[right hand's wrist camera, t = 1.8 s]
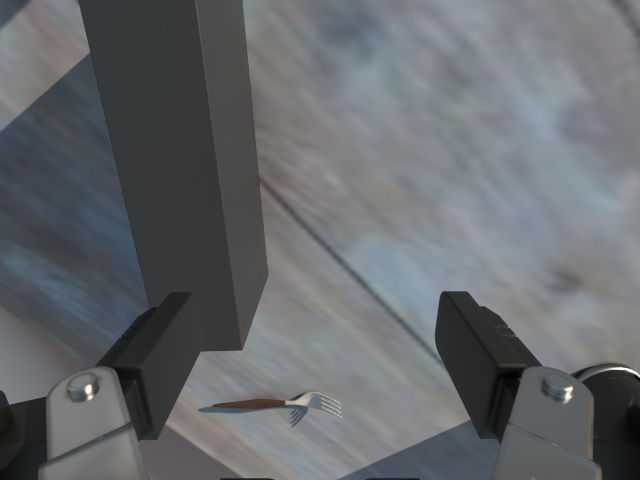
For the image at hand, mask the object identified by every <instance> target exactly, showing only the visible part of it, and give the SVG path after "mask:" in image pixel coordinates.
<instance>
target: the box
mask: <svg viewBox="0 0 640 480" xmlns="http://www.w3.org/2000/svg"><path fill="white" fill-rule="evenodd" d="M78 1H79V5H80V9H81V14H82V18H83V22H84V27H85V31H86V35H87V39H88V44H89V48H90V52H91V57H92V61H93V65H94V70H95V74H96V78H97V83H98V87H99V91H100V96H101V100H102V104H103V109H104V113H105V117H106V121H107V126H108V130H109V134H110V139H111V143H112V147H113V152H114V156H115V160H116V165H117V169H118V173H119V178H120V182H121V186H122V190H123V195H124V199H125V203H126V208H127V212H128V216H129V221H130V225H131V229H132V234H133V238H134V242H135V247H136V251H137V255H138V260H139V264H140V268H141V272H142V277H143V281H144V285H145V290H146V294H147V298H148V303H149V307H150V309H151V308H153V307H159V306H160V304H161V303H162V302H163V301H164V299H165V298H166V297H167V296H168V295H169V293H171V292H196V294H197V296H198V300H199V307H200V314H201V321H202V328H203V344H202V349H201V351H239V350H243V347H244V344H245V341H246V338H247V335H248V332H249V330H250V327H251V324H252V321H253V318H254V315H255V312H256V309H257V306H258V303H259V300H260V298H261V295H262V292H263V289H264V286H265V283H266V280H267V277H268V269H267V259H266V248H265V237H264V227H263V216H262V205H261V195H260V184H259V173H258V163H257V152H256V141H255V131H254V120H253V109H252V99H251V88H250V77H249V67H248V56H247V45H246V35H245V24H244V13H243V3H242V0H78Z"/></svg>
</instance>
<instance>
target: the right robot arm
mask: <svg viewBox="0 0 640 480" xmlns="http://www.w3.org/2000/svg"><path fill="white" fill-rule="evenodd" d="M435 342H436V347H437V350H438V353H439V355H440V357H441V359H442V361H443V363H444V365H445V367H446V369H447V371H448V373H449V375H450V377H451V379H452V381H453V383H454V385H455V388H456V390H457V392H458V394H459V396H460V398H461V400H462V402H463V404H464V406H465V408H466V410H467V412H468V414H469V416H470V418H471V420H472V422H473V424H474V427H475V429H476V431H477V433H478V435H479V437H480V439H498V441H499V443H500V445H501V446H500V449H499V452H498V456H497V459H496V463H495V466H494V469H493V473H492V476H491V479H490V480H640V375H639V374H638V373H637V372H636V371H634V370H633V369H632V368H630V367H628V366H625V365H621V364H602V365H598V366H594V367H592V368H589V369H587V370H585V371H583V372H582V373H580V374H579V375H577V376H576V377H575V378H574V377H573V376H571V375H569V374H567V373H565V372H563V371H560V370H557V369H554V368H550V367H544V366H542V365H541V363H540V362H539V361H538V360H537V359H536V358H535V356H534V355H533V354H532V353H531V352H530V351H529V350H528V348H527V347H526V346H525V345H524V344H523V343H522V342H521V340H520V339H519V338H518V337H516V335H515V333H514V332H513V331H512V330H511V329H510V328H508V325H507V324H506V323H505V322H504V321H503V320H502V318H501V317H500V316H499V315H497V314H496V313H494V312H493V311H491V310H489V309H488V308H486V307H485V306H479V305H478V304H477V303H476V301H475V300H474V299H473V298H472V296H471V295H470V294H469V293H468V292H466V291H443V292H442V293H441V296H440V300H439V308H438V315H437V322H436V329H435ZM202 344H203V328H202V321H201V314H200V307H199V300H198V296H197V294H196V292H171V293H169V295H168V296H167V297H166V298H165V299H164V301H163V302H162V303H161V304H160V306H159V307H153V308H151V309H149V310H148V311H146V312H145V313H143V314H142V315H140V316H139V317H138V318H137V319H136V320H135V321H134V322H133V323H132V325H131V326H130V328H129V329H127V330H126V331H125V333H124V334H123V335H122V338H119V339H118V341H117V342H116V343H115V344H114V345H113V346H112V347H111V349H110V350H109V351H108V352H107V353H106V354H105V355H104V357H103V358H102V359H101V360H100V361H99V362H98V363H97V365H96V366H95V367H90V368H86V369H83V370H80V371H77V372H75V373H73V374H71V375H69V376H67V377H66V378H64V379H63V380H61V381H60V382H58V383H57V384H56V385H55V386H54V387H53V388H52V389H51V390H50V392H49V393H48V395H47V396H46V397H43V398H38V399H34V400H30V401H25V402H20V403H16V404H11V405H9V403H8V401H7V399H6V396H5V394H4V393H3V392H2V391H0V480H150V479H149V476H148V473H147V469H146V466H145V463H144V459H143V456H142V453H141V449H140V446H139V441H140V440H157V439H158V437H159V435H160V433H161V431H162V429H163V427H164V425H165V423H166V421H167V419H168V417H169V415H170V413H171V411H172V408H173V406H174V404H175V402H176V400H177V398H178V396H179V394H180V392H181V390H182V388H183V386H184V384H185V382H186V380H187V378H188V376H189V374H190V372H191V370H192V368H193V366H194V364H195V362H196V360H197V358H198V356H199V354H200V352H201V349H202ZM220 480H273V479H270V478H221V479H220ZM367 480H420V479H419V478H370V479H367Z"/></svg>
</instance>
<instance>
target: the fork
mask: <svg viewBox="0 0 640 480" xmlns="http://www.w3.org/2000/svg"><path fill="white" fill-rule="evenodd" d="M321 397H324V398H327V399H329V400H332V401H334V402H336V403H339V404H341V403H340V402H338V401H336V400H334V399H332V398H330V397H328V396H325V395H323V394H320V393H318V392H308V393H306V394H304V395H303V396H301V397H300V398H298V399H296V400H294V401H282V400H268V399H255V400H247V401H239V402H229V403H220V404H214V405H213V407H222V408H249V409H259V408H268V407H275V406H282V405H290V404H297V405H302V406H307V407H311V408H316V409H321V410H324V411H327V412H329V413H331V414H334V415H336V416H338V417H340V418H341V416H339V415H338V414H336V413H334V412H332V411H330V410H328V409H325V408H323V407H322V406H325V407H327V408H330V409H332V410H335V411H337V412H339V413H341V412H340V411H338V410H336V409H334V408H332V407H330V406H328V405H326V404H324V403H322V402H321V401H323V402H326V403H328V404H331V405H333V406H335V407H338V408H340V409H341V407H339V406H337V405H335V404H333V403H331V402H329V401H327V400H325V399H323V398H321Z"/></svg>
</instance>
